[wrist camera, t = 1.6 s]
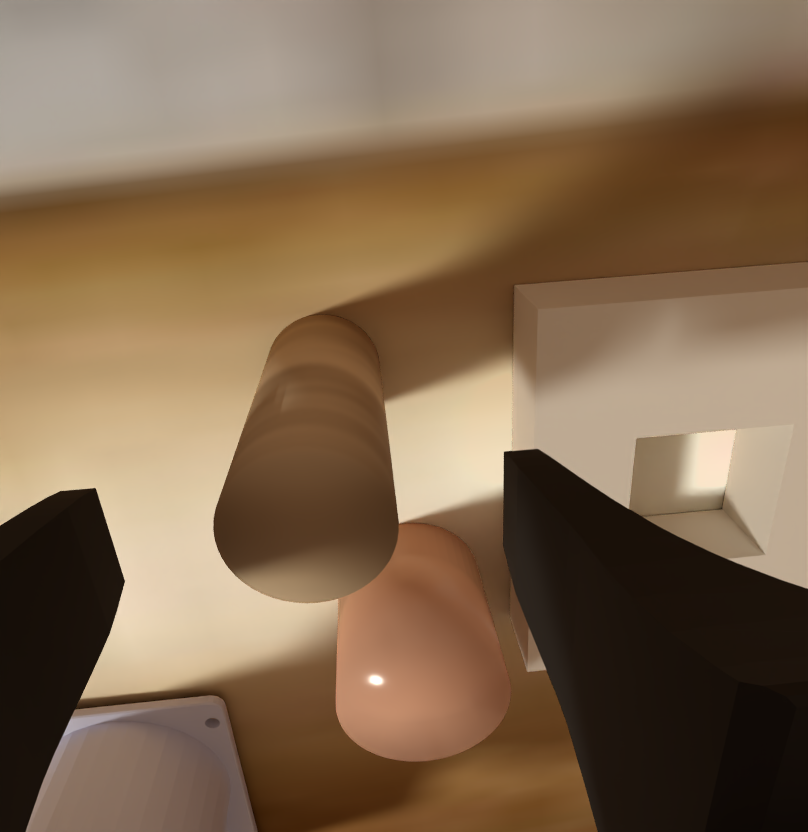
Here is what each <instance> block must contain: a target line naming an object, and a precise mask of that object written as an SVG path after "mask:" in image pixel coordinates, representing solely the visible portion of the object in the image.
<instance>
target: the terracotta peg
mask: <svg viewBox="0 0 808 832" xmlns="http://www.w3.org/2000/svg"><path fill="white" fill-rule="evenodd" d="M510 700H511V683H510V679H509V676H508V672H507V669H506V665H505V662H504V658H503V654H502V651H501V647H500V644H499V640H498V637H497V633H496V630H495V626H494V623H493V619H492V616H491V612H490V608H489V605H488V601H487V598H486V594H485V591H484V587H483V584H482V580H481V577H480V573H479V569H478V566H477V562H476V559H475V557H474V555H473V553H472V552H471V550H470V549H469V547H468V546H467V545H466V544H465V543H464V542H463V541H462V540H461V539H460V538H459V537H457V536H456V535H454V534H453V533H451V532H449V531H447V530H445V529H443V528H440V527H437V526H433V525H428V524H421V523H404V524H399V533H398V540H397V544H396V547H395V550H394V553H393V555H392V557H391V559H390V561H389V562H388V564H387V565H386V567H385V568H384V569H383V570H382V571H381V573H380V574H379V575H378V576H377V577H376V578H375V579H373V580H372V581H371V582H370V583H369V584H367V585H366V586H364V587H363V588H361V589H359V590H358V591H356V592H354V593H352V594H349V595H347V596H344V597H341V598H338V631H337V669H336V713H337V717H338V720H339V722H340V724H341V727H342V728H343V730H344V731H345V733H346V734H347V735H348V736H349V737H350V738H351V739H352V740H353V741H354V742H355V743H356V744H358V745H359V746H360V747H362V748H364V749H365V750H367V751H369V752H371V753H374V754H376V755H379V756H382V757H385V758H389V759H393V760H400V761H415V762H418V761H430V760H437V759H442V758H446V757H450V756H453V755H455V754H458V753H461V752H463V751H465V750H468V749H470V748H471V747H473V746H475V745H477V744H478V743H480V742H481V741H482V740H484V739H485V738H487V737H488V736H489V735H490V734H491V733H492V732H493V731H494V730H495V729H496V728H497V727H498V725H499V724H500V723H501V721H502V720H503V718H504V717H505V714H506V712H507V710H508V708H509V704H510Z"/></svg>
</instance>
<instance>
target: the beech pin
mask: <svg viewBox="0 0 808 832" xmlns="http://www.w3.org/2000/svg"><path fill="white" fill-rule="evenodd" d="M398 533H399V521H398V513H397V505H396V496H395V488H394V480H393V471H392V463H391V455H390V446H389V438H388V430H387V421H386V413H385V405H384V396H383V388H382V380H381V371H380V363H379V357H378V354H377V350H376V348H375V346H374V344H373V342H372V341H371V339H370V338H369V337H368V335H367V334H366V333H365V332H364V331H363V330H362V329H361V328H360V327H358V326H357V325H355V324H354V323H352V322H350V321H348V320H346V319H344V318H341V317H337V316H333V315H312V316H308V317H304V318H301V319H299V320H297V321H295V322H293V323H291V324H290V325H289V326H287V327H286V328H285V329H284V330H283V331H282V332H281V333H280V334H279V335H278V336H277V338H276V339H275V341H274V343H273V345H272V347H271V350H270V353H269V355H268V358H267V361H266V364H265V367H264V370H263V373H262V376H261V379H260V382H259V384H258V387H257V390H256V393H255V396H254V399H253V402H252V405H251V408H250V411H249V414H248V416H247V419H246V422H245V425H244V428H243V431H242V434H241V437H240V440H239V443H238V446H237V448H236V451H235V454H234V457H233V460H232V463H231V466H230V469H229V472H228V475H227V478H226V480H225V483H224V486H223V489H222V492H221V495H220V498H219V501H218V504H217V507H216V510H215V515H214V537H215V542H216V545H217V548H218V551H219V553H220V555H221V557H222V559H223V560H224V562H225V563H226V565H227V566H228V568H229V569H230V570H231V571H232V572H233V573H234V574H235V576H237V577H238V578H239V579H240V580H241V581H242V582H244V583H245V584H247V585H248V586H250V587H251V588H253V589H254V590H256V591H258V592H260V593H262V594H265V595H267V596H270V597H272V598H276V599H280V600H283V601H289V602H296V603H318V602H325V601H331V600H334V599H338V598H341V597H344V596H347V595H349V594H352V593H354V592H356V591H358V590H359V589H361V588H363V587H364V586H366V585H367V584H369V583H370V582H371V581H372V580H373V579H375V578H376V577H377V576H378V575H379V574H380V573H381V571H382V570H383V569H384V568H385V567H386V565H387V564H388V562H389V561H390V559H391V557H392V555H393V553H394V550H395V547H396V544H397V540H398Z"/></svg>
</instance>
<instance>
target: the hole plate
mask: <svg viewBox="0 0 808 832" xmlns="http://www.w3.org/2000/svg"><path fill="white" fill-rule="evenodd" d="M735 429H736V434H735V440H734V445H733V451H732V456H731V462H730V467H729V473H728V479H727V484H726V490H725V495H724V501H723V506H722V509H718V510H708V511H698V512H687V513H677V514H666V515H656V516H645V517H643V518H645V519H647V520H649V521H650V522H652V523H654V524H656V525H657V526H659V527H661V528H663V529H665V530H667V531H669V532H671V533H672V534H674V535H676V536H678V537H680V538H683V539H685V540H687V541H689V542H691V543H693V544H695V545H697V546H700V547H702V548H704V549H706V550H708V551H710V552H712V553H714V554H717V555H719V556H721V557H724V558H726V559H729V560H731V561H733V562H736V563H738V564H741V565H743V566H746V567H749V568H751V569H754V570H756V571H759V572H762V573H764V574H767V575H770V576H772V577H775V578H778V579H780V580H783V581H786V582H789V583H792V584H795V585H798V586H801V587H804V588H807V589H808V262H799V263H787V264H774V265H762V266H749V267H736V268H724V269H711V270H698V271H686V272H673V273H661V274H648V275H635V276H623V277H610V278H597V279H585V280H572V281H560V282H547V283H534V284H522V285H514V334H513V411H512V451H518V450H529V449H539V450H541V451H542V452H544V453H545V454H547V455H549V456H550V457H551V458H553V459H554V460H556V461H557V462H559V463H560V464H562V465H563V466H564V467H566V468H567V469H569V470H570V471H572V472H573V473H574V474H576V475H577V476H579V477H580V478H582V479H583V480H585V481H586V482H587V483H589V484H590V485H592V486H593V487H595V488H596V489H598V490H599V491H601V492H602V493H604V494H606V495H607V496H609V497H610V498H612V499H613V500H615V501H616V502H618V503H620V504H621V505H623V506H625V507H626V508H628V509H629V504H630V494H631V485H632V475H633V466H634V456H635V447H636V438H647V437H658V436H669V435H680V434H691V433H702V432H713V431H724V430H735ZM510 619H511V622H512V626H513V629H514V632H515V635H516V638H517V641H518V644H519V647H520V651H521V654H522V657H523V660H524V663H525V666H526V669H527V672H532V671H541V670H546V668H545V665H544V663H543V660H542V658H541V656H540V653H539V651H538V648H537V646H536V643H535V641H534V638H533V636H532V633H531V631H530V629H529V626H528V623H527V621H526V618H525V616H524V613H523V611H522V608H521V606H520V603H519V601H518V598H517V596H516V593H515V590H514V586H513V582H512V578H511V575H510Z"/></svg>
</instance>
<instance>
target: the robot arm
mask: <svg viewBox="0 0 808 832" xmlns="http://www.w3.org/2000/svg"><path fill="white" fill-rule="evenodd" d="M503 546H504V551H505V555H506V559H507V563H508V567H509V571H510V575H511V578H512V582H513V586H514V590H515V593H516V596H517V598H518V601H519V603H520V606H521V608H522V611H523V613H524V616H525V618H526V621H527V623H528V626H529V629H530V631H531V633H532V636H533V638H534V641H535V643H536V646H537V648H538V651H539V653H540V656H541V658H542V660H543V663H544V665H545V668H546V670H547V673H548V675H549V678H550V680H551V683H552V685H553V688H554V690H555V692H556V695H557V697H558V700H559V703H560V705H561V708H562V711H563V714H564V717H565V720H566V722H567V725H568V728H569V732H570V735H571V739H572V742H573V746H574V749H575V752H576V756H577V759H578V763H579V766H580V770H581V773H582V776H583V780H584V783H585V787H586V790H587V794H588V798H589V801H590V805H591V809H592V812H593V816H594V819H595V823H596V827H597V830H598V832H808V589H807V588H804V587H801V586H798V585H795V584H792V583H789V582H786V581H783V580H780V579H778V578H775V577H772V576H770V575H767V574H764V573H762V572H759V571H756V570H754V569H751V568H749V567H746V566H743V565H741V564H738V563H736V562H733V561H731V560H729V559H726V558H724V557H721V556H719V555H717V554H714V553H712V552H710V551H708V550H706V549H704V548H702V547H700V546H697V545H695V544H693V543H691V542H689V541H687V540H685V539H683V538H680V537H678V536H676V535H674V534H672V533H671V532H669V531H667V530H665V529H663V528H661V527H659V526H657V525H656V524H654V523H652V522H650V521H649V520H647V519H645V518H643V517H642V516H640V515H638V514H636V513H635V512H633V511H631V510H629V509H628V508H626V507H625V506H623V505H621V504H620V503H618V502H616V501H615V500H613V499H612V498H610V497H609V496H607V495H606V494H604V493H602V492H601V491H599V490H598V489H596V488H595V487H593V486H592V485H590V484H589V483H587V482H586V481H585V480H583V479H582V478H580V477H579V476H577V475H576V474H574V473H573V472H572V471H570V470H569V469H567V468H566V467H564V466H563V465H562V464H560V463H559V462H557V461H556V460H554V459H553V458H551V457H550V456H549V455H547V454H545V453H544V452H542V451H541V450H539V449H529V450H518V451H506V452H504V509H503ZM124 583H125V580H124V577H123V574H122V571H121V568H120V564H119V561H118V558H117V555H116V552H115V548H114V545H113V542H112V539H111V536H110V533H109V529H108V526H107V523H106V520H105V517H104V513H103V510H102V507H101V504H100V501H99V497H98V494H97V491H96V488H92V489H81V490H70V491H60V492H58V493H56V494H54V495H52V496H49V497H47V498H46V499H44V500H42V501H40V502H38V503H37V504H35V505H33V506H31V507H30V508H28V509H26V510H25V511H23V512H21V513H20V514H18V515H17V516H15V517H13V518H12V519H10V520H9V521H7V522H5V523H4V524H2V525H1V526H0V832H258V831H257V827H256V823H255V819H254V815H253V811H252V807H251V803H250V799H249V795H248V791H247V787H246V783H245V779H244V775H243V771H242V767H241V763H240V759H239V755H238V752H237V748H236V744H235V740H234V736H233V732H232V728H231V724H230V720H229V716H228V712H227V708H226V704H225V702H224V700H222V699H221V698H220V697H217V696H213V695H208V696H199V697H189V698H180V699H170V700H161V701H151V702H142V703H132V704H123V705H113V706H103V707H94V708H84V709H75V708H76V706H77V704H78V702H79V700H80V698H81V695H82V693H83V691H84V689H85V687H86V685H87V683H88V680H89V678H90V676H91V674H92V672H93V670H94V667H95V665H96V663H97V661H98V658H99V656H100V654H101V652H102V650H103V647H104V645H105V643H106V641H107V638H108V636H109V634H110V631H111V628H112V624H113V621H114V618H115V615H116V612H117V608H118V605H119V601H120V597H121V594H122V590H123V586H124ZM211 718H215V719H211Z"/></svg>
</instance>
